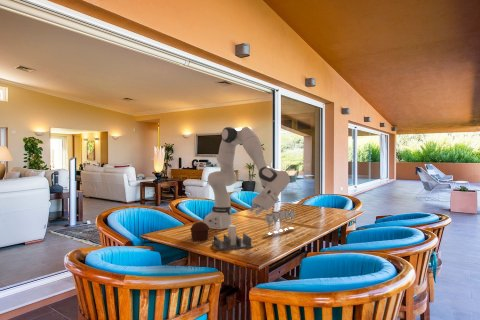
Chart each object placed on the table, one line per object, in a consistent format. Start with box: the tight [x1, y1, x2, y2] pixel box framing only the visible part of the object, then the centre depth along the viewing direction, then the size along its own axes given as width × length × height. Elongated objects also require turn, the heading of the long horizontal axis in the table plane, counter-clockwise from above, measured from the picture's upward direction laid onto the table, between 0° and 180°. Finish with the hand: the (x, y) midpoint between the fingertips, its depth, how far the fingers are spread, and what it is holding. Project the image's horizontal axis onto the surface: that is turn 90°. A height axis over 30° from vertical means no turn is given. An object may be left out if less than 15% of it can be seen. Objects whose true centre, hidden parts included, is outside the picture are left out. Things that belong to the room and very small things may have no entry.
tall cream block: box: [227, 224, 237, 245], centre depth 172 cm, size 3×5×10 cm, turn 17°
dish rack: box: [212, 232, 253, 252], centre depth 172 cm, size 19×14×5 cm
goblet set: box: [264, 209, 296, 235], centre depth 207 cm, size 28×6×13 cm, turn 133°
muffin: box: [189, 221, 210, 242], centre depth 184 cm, size 12×11×10 cm
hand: (253, 212), depth 175 cm, fingers open, 8 cm apart
